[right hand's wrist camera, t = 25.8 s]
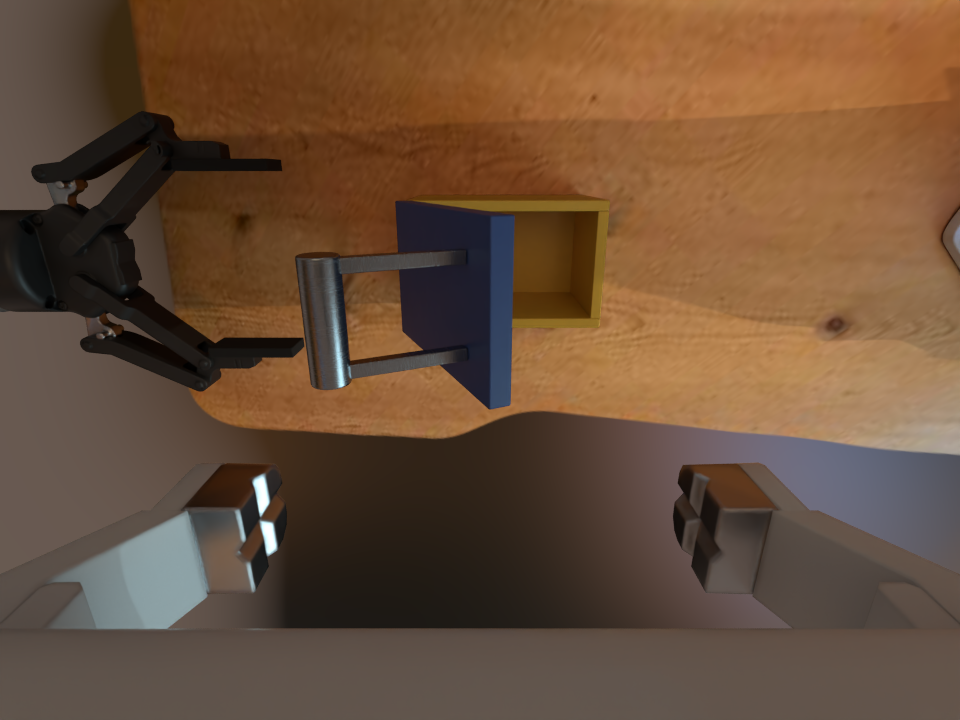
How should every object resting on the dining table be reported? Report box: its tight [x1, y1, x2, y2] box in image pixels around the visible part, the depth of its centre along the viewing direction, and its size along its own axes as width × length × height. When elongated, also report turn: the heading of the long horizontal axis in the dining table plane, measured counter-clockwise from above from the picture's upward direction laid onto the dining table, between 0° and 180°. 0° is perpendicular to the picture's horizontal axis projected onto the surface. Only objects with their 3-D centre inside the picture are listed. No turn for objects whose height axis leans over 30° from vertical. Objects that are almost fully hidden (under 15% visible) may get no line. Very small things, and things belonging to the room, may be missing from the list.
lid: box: [295, 201, 515, 409], centre depth 28 cm, size 14×9×9 cm
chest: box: [406, 195, 610, 328], centre depth 41 cm, size 14×9×10 cm, turn 90°
